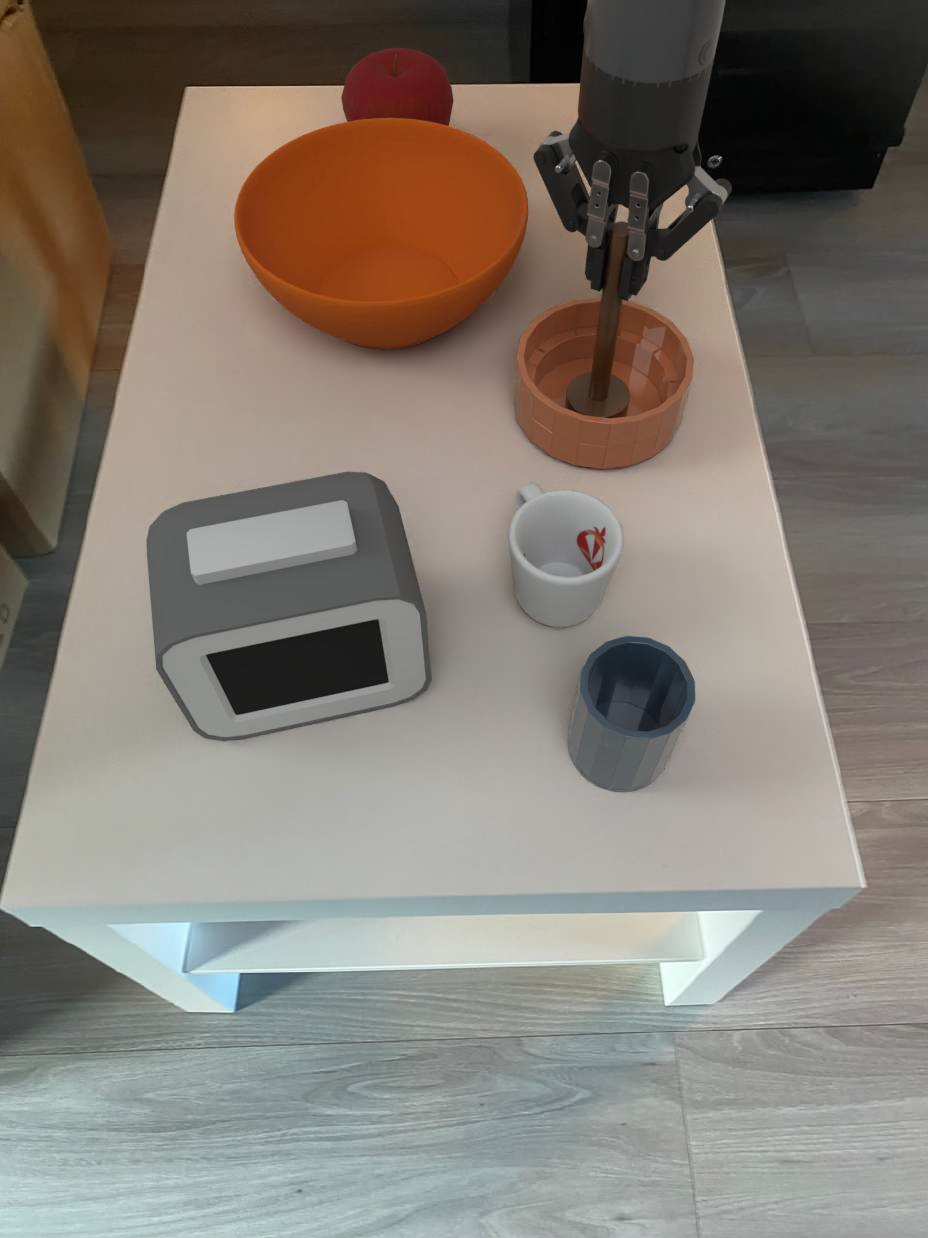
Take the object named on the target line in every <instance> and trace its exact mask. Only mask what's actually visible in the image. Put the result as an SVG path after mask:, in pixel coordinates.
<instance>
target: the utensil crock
mask: <svg viewBox="0 0 928 1238" xmlns="http://www.w3.org/2000/svg"><path fill="white" fill-rule="evenodd" d="M695 703H696V681H695V678H694V676H693V674H692V672H691V670H690V668H689V666H688V664H687V662H686V661H685V659H683V658H682V657H681V656H680V655H679V654H678V653H677V652H676V651H675V650H674V649H673V648H672V647H670V646H669V645H667V644H664V643H663V642H660V641H657V640H655V639H653V638H651V637H646V636H645V637H644V636H633V635H625V636H621V637H618V638H614V639H610V640H606V641H605V642H604V643H602V644H601V645H600V646H599V647H597V648H596V649H594V650H593V651H591V653H590V654H589V655H588V656H587V658H586V661H585V663H584V664H583V666H582V667H581V671H580V674H579V678H578V684H577V687H576V693H575V698H574V701H573V707H572V712H571V717H570V721H569V726H568V734H567V748H568V753H569V756H570V759H571V761H572V763H573V765H574V767H575V768H576V769H577V772H579V773H580V774H581V776H583V777H584V778H585V779H586V780H587V781H588V782H590V783H591V784H593V785H594V786H596V787H599V788H601V789H603V790H607V791H610V792H615V793H616V792H617V793H628V792H629V793H630V792H634V791H639V790H642V789H644V788H646V787H648V786H649V785H652V783H654V782H655V781H656V780H657V779H658V778H659V777H660V776H661V774H663V772H664V771H665V769H666V766H667V765H668V762H669V760H670V758H671V756H672V753H673V751H674V749H675V746H676V745H677V742H678V740H679V738H680V736H681V734H682V732H683V729H684V727H685V725H686V723H687V721H688V718H689V716H690V714H691V711H692V710H693V707H694V705H695Z"/></svg>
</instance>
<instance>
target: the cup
mask: <svg viewBox="0 0 928 1238" xmlns="http://www.w3.org/2000/svg"><path fill="white" fill-rule="evenodd" d="M515 507H516V512H515V514H514V515H513V517H512V518H511V521H510V524H509V528H508V540H507V541H508V548H509V557H510V565H511V573H512V582H513V589H514V593H515V596H516V597H515V598H516V599H517V602H518V603H519V604H518V605H519V606H520V607H521V609H522V610H523V612H525V614H526V615H528V617H530V618H531V619H532V620H534V621H536V622H538V623H540V624H542V625H544V626H549V627H553V628H555V627H556V628H566V627H572V626H575V625H578V624H580V623H583V622H584V621H586V620H587V619H588V618H590V617H591V616H592V615H593V614H594V613H595V612H596V611H597V610H598V608H599V607H600V606H601V603H602V602H603V600H604V597H605V595H606V592H607V590H608V588H609V585H610V583H611V580H612V578H613V576H614V574H615V571H616V569H617V566H618V564H619V561H620V559H621V557H622V554H623V550H624V546H625V545H624V544H625V537H624V536H625V535H624V530H623V527H622V524H621V521H620V520H619V518H618V516H617V515H616V514H615V512H614V511H613V510H612V509H611V507H609V506H608V505H607V504H606V503H604V502H603V501H602V500H600V499H599V498H596V497H595V496H593V495H590V494H588V493H585V492H581V491H578V490H570V489H569V490H568V489H558V490H551V491H546V492H544V490H543V489H542V488H541V487H540V485H538V484H537V483H536V482H528V483H525V484H522V485H520V486H518V488H517V489H516V494H515Z"/></svg>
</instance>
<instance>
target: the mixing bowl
mask: <svg viewBox="0 0 928 1238" xmlns="http://www.w3.org/2000/svg"><path fill="white" fill-rule="evenodd" d="M601 297H602V296H597V297H596V296H595V297H586V298H577V299H572V300H568V301H566V302H564V303H560V304H557V305H555V306H552V307H550V308H548V309H546V311H544V312H542V313H541V314H539V315H538V316H537V317H535V318H534V319H533V320H532V321H531V322H530V323H529V324H528V326H527V328H526V329H525V331H524V332H523V333H522V335H521V336H520V338H519V343H518V346H517V350H516V351H517V352H516V356H515V372H514V373H515V375H514V395H513V406H514V410H515V411H514V412H515V414H516V419H517V423H518V424H519V426H520V428H521V429H522V430H523V432H524V433H525V435H526V436H527V438H528V439H529V440H530V441H531V442H532V443H533V444H534V445H536V447H538V448H539V449H541V450H542V451H544V452H545V453H546V454H547V455H549V456H550V457H553V458H555V459H557V460H560V461H563V462H565V463H567V464H569V465H572V466H578V467H586V468H593V469H600V470H605V469H615V468H623V467H631V466H633V465H635V464H638V463H640V462H643V461H645V460H649V459H650V458H652V457H654V456H655V455H657V454H658V453H659V452H660V451H661V450H662V449H664V448H665V447H667V446H668V445H669V444H670V443H671V441H672V439H673V438H674V436H675V434H676V432H677V431H678V429H679V427H680V424H681V422H682V418H683V416H684V415H683V414H684V410H685V408H686V403H687V401H688V400H687V399H688V397H689V393H690V389H691V385H692V381H693V378H694V366H695V365H694V363H695V357H694V355H693V351H692V349H691V346H690V344H689V341H688V339H687V337H686V336H685V335H684V334H683V332H682V331H681V330H680V329H679V328H678V327H677V325H676V324H675V323H674V322H673V321H672V320H671V319H669V318H667V317H666V316H665V315H662V314H661V313H659V312H658V311H656V310H654V309H653V308H652V307H649V306H646V305H642V304H639V303H637V302H633V301H631V300H628V301H626V300H623V304H622V310H621V316H620V323H619V329H618V335H617V341H616V348H615V354H614V360H613V366H612V373H611V374H613V375H615V376H617V377H618V378H620V379H621V380H622V381H623V382H624V383H625V384H626V385H627V387H628V389H629V392H630V400H629V405H628V411H627V416H626V417H618V418H603V417H595V416H587V415H582V414H579V413H577V412H574V411H572V410H569V409H566V408H565V401H566V392H567V388H568V385H569V384H570V382H571V381H572V380H573V379H574V378H575V377H577V376H579V375H581V374H583V373H587V372H591V370H592V363H593V356H594V348H595V341H596V334H597V326H598V319H599V311H600V304H601Z"/></svg>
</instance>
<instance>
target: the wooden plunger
mask: <svg viewBox="0 0 928 1238" xmlns="http://www.w3.org/2000/svg"><path fill="white" fill-rule="evenodd" d="M627 223H628V221H616V222H615V223H614V224H613V225H612V226H611V230H610V237H609V245H608V252H607V260H606V267H605V274H604V282H603V288H602V290H601V296H600V297H601V304H600V311H599V319H598V326H597V334H596V341H595V348H594V356H593V363H592V370H591V372H587V373H583V374H581V375H579V376H577V377H575V378H574V379H573V380H572V381H571V382H570V384H569V385H568V388H567V392H566V401H565V408H566V409H569V410H572V411H574V412H577V413H579V414H582V415H587V416H595V417H603V418H618V417H626V416H627V411H628V405H629V400H630V392H629V389H628V387H627V385H626V384H625V383H624V382H623V381H622V380H621V379H620V378H618V377H617V376H615V375H613V374H611V373H612V366H613V360H614V354H615V348H616V341H617V335H618V329H619V323H620V316H621V310H622V304H623V299H620V298H618V294H619V288H620V281H621V275H622V268H623V262H624V257H625V256H626V254H627V249H628V239H629V230H628V229H627Z"/></svg>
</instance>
